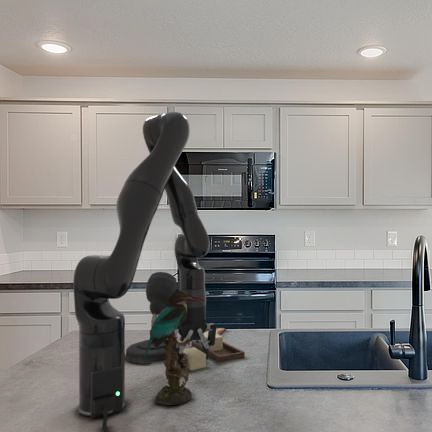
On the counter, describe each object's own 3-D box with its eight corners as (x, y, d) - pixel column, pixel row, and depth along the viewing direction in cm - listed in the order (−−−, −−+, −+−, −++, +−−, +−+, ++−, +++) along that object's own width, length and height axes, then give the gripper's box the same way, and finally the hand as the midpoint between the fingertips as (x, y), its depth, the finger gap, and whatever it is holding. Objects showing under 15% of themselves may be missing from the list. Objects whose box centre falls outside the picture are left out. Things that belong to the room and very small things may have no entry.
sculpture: (202, 407, 98) (202, 293, 98) (139, 406, 99) (139, 292, 99) (211, 392, 106) (211, 287, 106) (153, 391, 107) (153, 286, 107)
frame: (244, 358, 132) (244, 352, 132) (219, 364, 127) (219, 357, 127) (214, 343, 148) (214, 337, 148) (191, 347, 143) (191, 341, 143)
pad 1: (206, 368, 123) (206, 354, 123) (190, 371, 121) (190, 357, 121) (194, 360, 130) (194, 347, 130) (179, 363, 127) (179, 349, 127)
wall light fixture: (189, 270, 148) (173, 275, 128) (189, 346, 147) (172, 364, 127) (142, 270, 148) (118, 275, 128) (141, 346, 147) (117, 363, 127)
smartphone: (226, 328, 164) (214, 339, 149) (226, 330, 164) (214, 342, 149) (206, 327, 165) (192, 338, 150) (206, 329, 165) (192, 340, 150)
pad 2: (222, 349, 139) (222, 336, 139) (209, 352, 136) (209, 339, 136) (211, 343, 146) (211, 331, 146) (198, 345, 143) (198, 333, 143)
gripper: (172, 309, 118) (172, 373, 118) (221, 303, 126) (221, 362, 126) (162, 304, 124) (162, 365, 124) (210, 298, 132) (210, 355, 133)
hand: (192, 363), depth 125 cm, fingers open, 6 cm apart
